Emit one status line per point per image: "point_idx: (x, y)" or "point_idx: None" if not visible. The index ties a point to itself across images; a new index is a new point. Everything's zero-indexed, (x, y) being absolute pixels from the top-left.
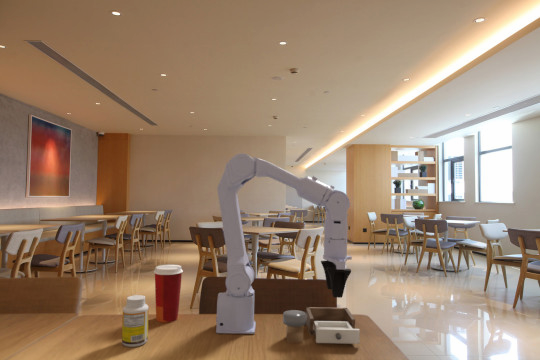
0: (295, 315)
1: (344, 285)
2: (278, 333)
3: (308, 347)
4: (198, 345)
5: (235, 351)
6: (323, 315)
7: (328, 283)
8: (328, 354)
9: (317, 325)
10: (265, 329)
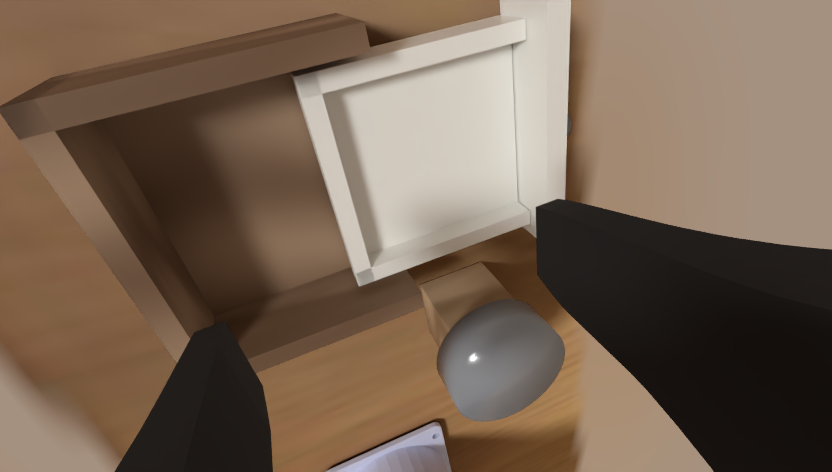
0: (535, 366)
1: (697, 235)
2: (405, 365)
3: (521, 230)
4: (529, 469)
5: (559, 394)
6: (168, 266)
7: (263, 439)
8: (578, 145)
9: (427, 252)
10: (376, 416)
